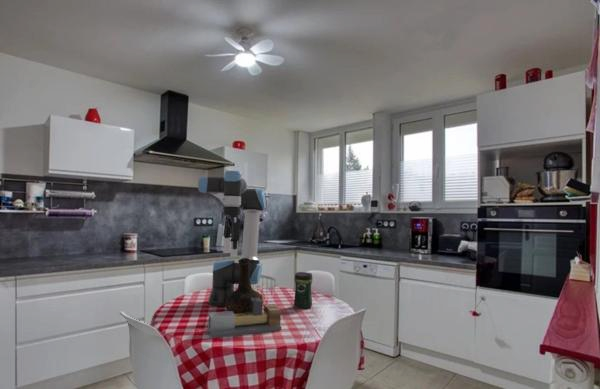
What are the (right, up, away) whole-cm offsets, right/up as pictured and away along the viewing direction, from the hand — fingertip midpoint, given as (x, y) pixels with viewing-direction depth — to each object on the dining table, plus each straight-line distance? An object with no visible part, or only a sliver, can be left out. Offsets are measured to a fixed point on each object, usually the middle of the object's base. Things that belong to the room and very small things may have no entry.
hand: (230, 254), depth 148 cm
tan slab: (+9, -30, +1) cm, 32 cm away
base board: (+6, -33, 0) cm, 33 cm away
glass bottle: (+3, -34, +18) cm, 38 cm away
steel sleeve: (-3, -31, -4) cm, 31 cm away
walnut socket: (+18, -32, +5) cm, 37 cm away
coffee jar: (+32, -35, +37) cm, 60 cm away
